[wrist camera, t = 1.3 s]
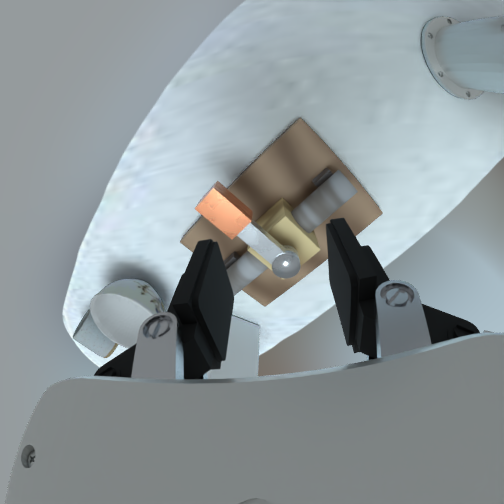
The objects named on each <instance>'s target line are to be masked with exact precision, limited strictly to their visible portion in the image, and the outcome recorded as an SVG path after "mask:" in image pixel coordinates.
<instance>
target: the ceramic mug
mask: <svg viewBox="0 0 504 504" xmlns="http://www.w3.org/2000/svg"><path fill="white" fill-rule="evenodd" d="M73 339H75V340H76V341H78V342H79V343H81V344H82V345H83V346H85V347H86V348H88V349H89V350H91V351H92V352H94V353H95V354H97V355H99V356H101V357H103V358H107V357H109V356H110V355H111V354H112V353H113V352H114V350H115V349H116V347H117V346H118V344H117V343H115V342H113V341H111V340H110V339H109V338H108V337H106V336H105V335H104V334H103V333H102V332H101V331H100V329H99V328H98V327H97V325H96V324H95V322H94V320H93V318H92V315H91V312H90V309H89V310H88V311H87V313H86V314H85V316H84V317H83V318H82V320H81V322H80V323H79V325H78V327H77V329H76V330H75V333H74V335H73Z"/></svg>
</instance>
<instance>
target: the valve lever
mask: <svg viewBox="0 0 504 504" xmlns="http://www.w3.org/2000/svg"><path fill="white" fill-rule="evenodd" d="M195 210H197V211H198V212H199V213H200V214H201V215H203V216H204V217H205V218H206V219H208V220H209V221H210V222H211V223H212V224H214V225H215V226H216V227H217V228H218V229H220V230H221V231H222V232H223V233H225V234H226V235H227V236H228V237H229V238H231V239H234V238H235V237H236V236H238V237H239V238H240V239H242V240H243V241H244V242H245V243H246V244H248V245H249V246H250V247H251V248H252V249H254V250H255V251H256V252H257V253H258V254H260V255H261V256H262V257H263V258H264V259H266V260H267V261H268V262H269V263H270V264H272V271H273V273H274V274H275V275H276V276H278V277H280V278H285V279H286V278H291V277H294V276H295V275H296V274H297V273H298V272H299V271H300V267H301V265H300V260H299V254H298V252H297V250H296V249H295V248H294V247H292V246H289V245H283V246H282V245H281V244H280V243H279V242H278V241H277V240H275V239H274V238H273V237H272V236H271V235H270V234H269V233H268V232H266V231H265V230H264V229H263V228H262V227H261V226H260V225H258V224H257V223H256V222H255V221H254V220H253V219H252V215H253V211H252V210H251V209H250V208H248V207H247V206H246V205H245V204H244V203H243V202H242V201H240V200H239V199H238V198H237V197H236V196H235V195H234V194H232V193H231V192H230V191H229V190H228V189H227V188H225V187H224V186H223V185H222V184H221V183H220V182H218V181H217V182H216V183H215V184H214V185H213V186H212V188H211V189H210V190H209V191H208V192H207V193H206V194H205V195H204V196H203V197H202V199H201V200H200V201H199V203H198V204H197V206H196V208H195Z"/></svg>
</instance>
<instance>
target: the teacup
mask: <svg viewBox="0 0 504 504" xmlns="http://www.w3.org/2000/svg"><path fill="white" fill-rule="evenodd" d="M90 312H91V315H92V318H93V320H94V322H95V324H96V325H97V327H98V328H99V329H100V331H101V332H102V333H103V334H104V335H105V336H106V337H108V338H109V339H110V340H111V341H113V342H115V343H117V344H118V345H121V346H123V347H125V348H128V349H129V348H130V347H132V346H133V345H135V344H136V343H137V338H138V333H139V329H140V326H141V325H142V323H143V322H144V321H145V320H146V319H147V318H149V317H150V316H152V315H154V314H157V313H160V312H165V309H164V306H163V303H162V300H161V299H160V297H159V295H158V294H157V292H156V291H155V290H154V289H153V287H152V286H151V285H149V284H148V283H147V282H145V281H142V280H139V279H122V280H118V281H115V282H113V283H111V284H109V285H107V286H106V287H105V288H103V289H102V290H101V291H100V292H99V293H98V294H96V295H95V296H94V297H93V298H92V300H91V303H90Z"/></svg>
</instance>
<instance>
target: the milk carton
mask: <svg viewBox="0 0 504 504" xmlns="http://www.w3.org/2000/svg"><path fill="white" fill-rule="evenodd" d="M259 328H260V327H259V326H258V325H256V324H253V323H250V322H248V321H245V320H243V319H240V318H237V317H235V316H232V317H231V325H230V332H229V339H228V346H227V354H226V360H225V361H221V368H220V369H214V370H209V371H208V372H207V376H208V379H227V378H245V377H258V360H259Z"/></svg>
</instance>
